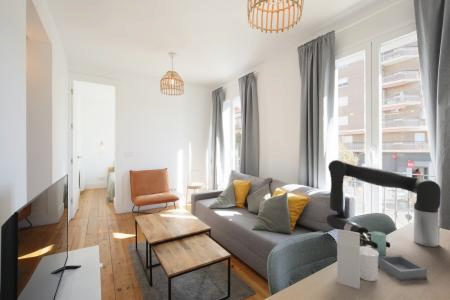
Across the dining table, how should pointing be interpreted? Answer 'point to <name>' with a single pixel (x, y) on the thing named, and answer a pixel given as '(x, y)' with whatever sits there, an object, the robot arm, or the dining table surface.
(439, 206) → the robot arm
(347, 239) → the milk carton
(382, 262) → the dish
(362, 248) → the white cup
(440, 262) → the dining table surface
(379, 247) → the mint green cylinder
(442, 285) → the dining table surface
